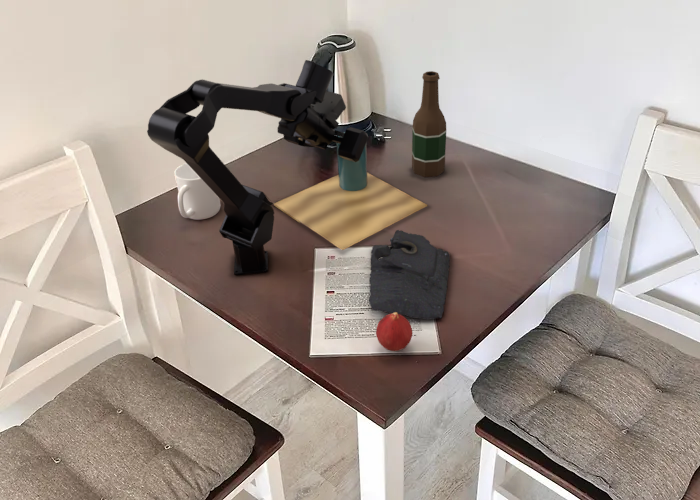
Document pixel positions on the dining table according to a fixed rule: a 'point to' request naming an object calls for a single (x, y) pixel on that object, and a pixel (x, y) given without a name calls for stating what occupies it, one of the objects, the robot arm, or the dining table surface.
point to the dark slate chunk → (409, 277)
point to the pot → (352, 172)
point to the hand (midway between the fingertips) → (342, 150)
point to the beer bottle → (429, 131)
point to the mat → (349, 209)
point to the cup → (195, 195)
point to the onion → (394, 332)
